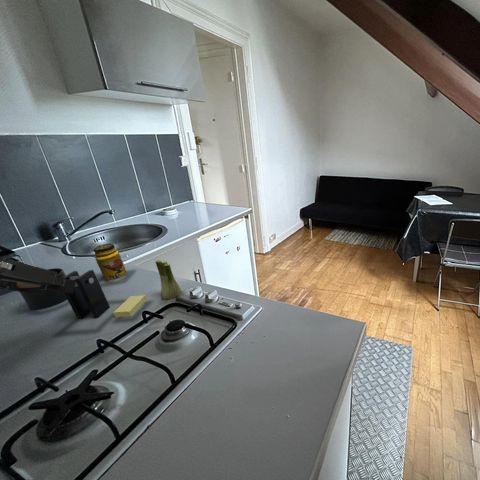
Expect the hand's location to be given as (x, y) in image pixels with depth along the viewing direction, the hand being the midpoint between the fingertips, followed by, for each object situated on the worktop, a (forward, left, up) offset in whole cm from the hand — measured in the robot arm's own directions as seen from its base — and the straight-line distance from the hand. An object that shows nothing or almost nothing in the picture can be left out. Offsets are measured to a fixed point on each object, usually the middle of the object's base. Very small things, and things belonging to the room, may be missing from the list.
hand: (58, 288), depth 58 cm
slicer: (0, +5, -12) cm, 13 cm away
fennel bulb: (+17, +11, -13) cm, 24 cm away
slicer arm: (0, 0, 0) cm, 0 cm away
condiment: (-9, +25, -13) cm, 29 cm away
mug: (-19, +14, -13) cm, 27 cm away
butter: (+9, +6, -12) cm, 16 cm away
